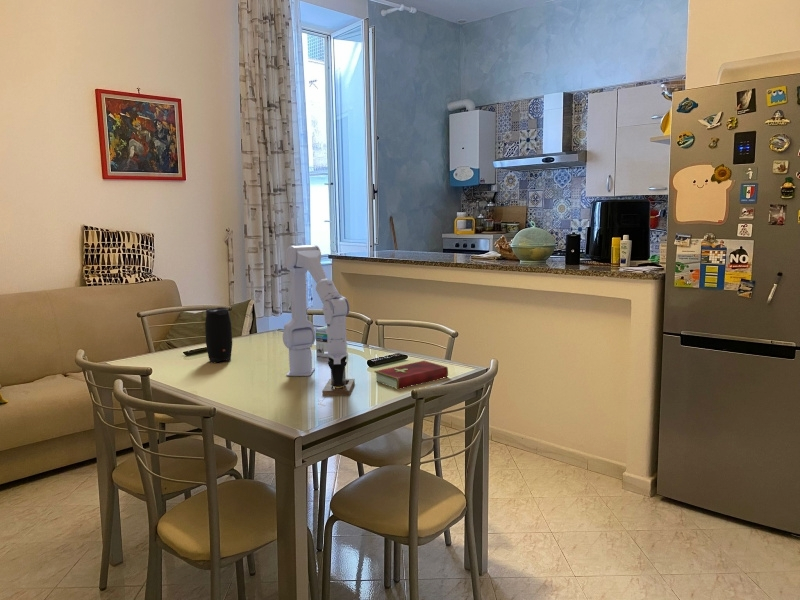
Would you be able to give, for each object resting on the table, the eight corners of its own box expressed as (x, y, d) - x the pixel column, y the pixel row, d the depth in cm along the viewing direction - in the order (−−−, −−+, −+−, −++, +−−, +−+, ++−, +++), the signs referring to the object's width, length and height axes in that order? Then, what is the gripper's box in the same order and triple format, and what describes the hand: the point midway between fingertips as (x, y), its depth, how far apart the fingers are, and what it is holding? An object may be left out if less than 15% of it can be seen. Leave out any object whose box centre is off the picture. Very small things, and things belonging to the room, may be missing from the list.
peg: (336, 387, 188) (336, 366, 187) (348, 389, 186) (348, 367, 185) (328, 391, 184) (327, 369, 183) (340, 392, 182) (340, 370, 181)
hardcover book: (448, 378, 198) (448, 366, 198) (397, 391, 185) (397, 377, 185) (424, 371, 208) (424, 359, 207) (374, 382, 195) (374, 370, 194)
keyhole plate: (329, 383, 193) (329, 378, 193) (354, 383, 192) (354, 378, 192) (322, 395, 180) (322, 390, 180) (349, 395, 180) (349, 390, 179)
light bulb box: (329, 358, 227) (328, 330, 225) (315, 356, 230) (314, 328, 229) (346, 352, 236) (345, 325, 234) (332, 350, 239) (332, 323, 238)
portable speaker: (232, 362, 222) (230, 309, 219) (206, 364, 220) (203, 311, 217) (233, 357, 231) (230, 306, 228) (207, 358, 228) (204, 307, 225)
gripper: (324, 333, 189) (325, 376, 191) (322, 343, 175) (324, 389, 177) (346, 333, 190) (348, 375, 192) (347, 342, 176) (348, 388, 177)
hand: (338, 381), depth 184 cm, fingers closed on peg, 4 cm apart
